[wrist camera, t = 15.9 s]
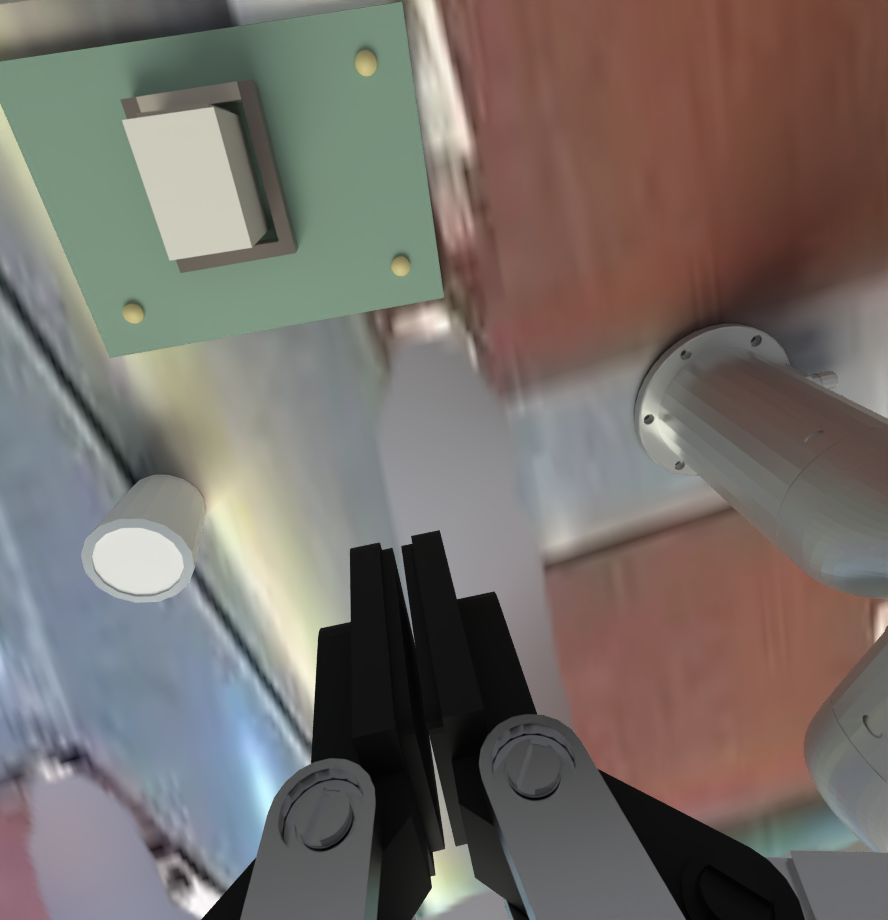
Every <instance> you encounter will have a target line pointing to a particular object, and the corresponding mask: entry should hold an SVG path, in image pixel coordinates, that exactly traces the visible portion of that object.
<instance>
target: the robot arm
mask: <svg viewBox="0 0 888 920" xmlns="http://www.w3.org/2000/svg"><path fill="white" fill-rule="evenodd" d="M681 352H682V353H681ZM837 383H838V377H837V375H836V373H834V372H833V371H825V372H820V373H815V374H813V375H808V374H806V373H803V372H801V371H799V370H797V369H795V368H793V367H791V366H790V362H789V359H788V357H787V355H786V353H785V351H784V349H783V348H782V347H781V345H780V344H779V343H778V342H777V341H776V340H775V339H774V338H772V337H771V336H769V335H768V334H767V333H765V332H763V331H761V330H758V329H756V328H754V327H751V326H747V325H743V324H729V323H724V324H718V325H713V326H708V327H706V328H703V329H700V330H698V331H695V332H693V333H691V334H689V335H688V336H686V337H684V338H682V339H681V340H679V341H678V342H677V343H675V344H674V345H673V346H672V347H670V348H669V349H668V350H667V351H665V353H664V354H663V355H662V356H661V357H660V358H659V359H658V360H657V361H656V363H655V364H654V365H653V367H652V368H651V370H650V371H649V373H648V374H647V376H646V377H645V379H644V381H643V384H642V386H641V388H640V390H639V393H638V397H637V401H636V405H635V416H634V422H635V429H636V434H637V437H638V439H639V442H640V444H641V446H642V447H643V449H644V450H645V452H646V453H647V454H648V455H649V456H650V457H651V458H652V459H653V460H654V461H655V462H656V463H657V464H658V465H660V466H661V467H663V468H664V469H666V470H668V471H670V472H673V473H676V474H681V475H687V476H700V477H701V478H702V479H703V480H704V481H705V482H706V483H708V484H709V485H710V486H711V487H712V488H713V489H714V490H715V491H716V492H717V493H718V494H719V495H721V496H722V497H723V498H724V499H725V500H726V501H727V502H728V503H729V504H730V505H731V506H732V507H734V508H735V509H736V510H737V511H738V512H739V513H740V514H741V515H742V516H743V517H744V518H745V519H747V520H748V521H749V522H750V523H751V524H752V525H753V526H754V527H755V528H756V529H757V530H758V531H760V532H761V533H762V534H763V535H764V536H765V537H766V538H767V539H768V540H769V541H770V542H771V543H773V544H774V545H775V546H776V547H777V548H778V549H779V550H780V551H781V552H782V553H783V554H784V555H786V556H787V557H788V558H789V559H790V560H791V561H792V562H794V563H795V564H796V565H797V566H798V567H799V568H800V569H801V570H802V571H804V572H805V573H806V574H807V575H809V576H810V577H811V578H813V579H814V580H816V581H818V582H820V583H821V584H823V585H825V586H827V587H830V588H832V589H835V590H837V591H840V592H843V593H847V594H852V595H856V596H861V597H868V598H879V599H888V419H887V418H885V417H883V416H881V415H879V414H877V413H875V412H873V411H871V410H869V409H867V408H865V407H863V406H861V405H859V404H857V403H855V402H853V401H851V400H849V399H847V398H845V397H844V396H843V395H839V394H837V393H835V392H833V391H831V390H829V389H833V388H835V387H836V386H837ZM411 538H412V544H409V545H404V546H401V547H402V555H403V562H404V569H405V576H406V583H407V590H408V597H409V604H410V611H411V619H412V626H413V633H414V639H413V635H412V630H411V626H410V621H409V617H408V613H407V608H406V604H405V600H404V595H403V591H402V587H401V582H400V578H399V573H398V569H397V565H396V560H395V556H394V552H393V549H392V548H390V549H385V550H382V548H381V545H380V543H375V544H370V545H365V546H360V547H355V548H351V549H350V591H351V622H349V623H344V624H339V625H334V626H330V627H325V628H321V629H320V631H319V635H318V649H317V667H316V685H315V703H314V721H313V739H312V757H311V764H310V765H308V766H306V767H304V768H302V769H300V770H299V771H298V772H296V773H295V774H294V775H293V776H292V777H291V778H290V779H288V780H287V781H286V782H285V783H284V785H283V786H282V787H281V789H280V790H279V792H278V793H277V794H276V796H275V797H274V800H273V802H272V805H271V807H270V809H269V812H268V815H267V819H266V822H265V826H264V830H263V834H262V838H261V842H260V845H259V849H258V853H257V857H256V858H255V859H254V860H253V862H252V863H251V864H250V865H249V866H248V867H247V868H246V870H245V871H244V872H243V873H242V874H241V875H240V876H239V877H238V879H237V880H236V881H235V882H234V883H233V884H232V885H231V887H230V888H229V889H228V890H227V891H226V892H225V893H224V894H223V896H222V897H221V898H220V899H219V900H218V901H217V902H216V904H215V905H214V906H213V907H212V908H211V909H210V910H209V911H208V913H207V914H206V915H205V916H204V917H203V918H202V919H201V920H416V918H415V913H416V912H417V910H418V909H419V907H420V906H421V904H422V903H423V901H424V899H425V898H426V896H427V895H428V893H429V892H430V890H431V888H432V885H431V876H435V868H434V860H433V852H435V851H439V850H443V849H445V843H444V836H443V829H442V822H441V815H440V808H439V801H438V794H437V787H436V780H435V773H434V766H433V759H432V752H431V745H430V740H431V744H432V748H433V752H434V757H435V761H436V765H437V769H438V773H439V778H440V782H441V786H442V790H443V795H444V799H445V803H446V807H447V811H448V816H449V820H450V824H451V828H452V833H453V837H454V841H455V845H456V846H460V845H464V844H468V848H469V852H470V857H471V861H472V866H473V871H474V875H475V878H476V879H478V880H479V881H481V882H482V883H483V884H485V885H486V886H488V887H489V888H490V889H492V890H493V891H495V892H496V893H497V894H499V895H500V896H502V897H503V899H504V904H505V908H506V910H507V913H508V916H509V919H510V920H888V626H887V627H886V629H885V632H884V633H883V634H882V635H881V637H880V638H879V639H878V640H877V641H876V642H875V643H874V645H873V646H872V647H871V648H870V649H869V650H868V652H867V653H866V654H865V655H864V656H863V657H862V658H861V660H860V661H859V662H858V663H857V664H856V665H855V667H854V668H853V669H852V670H851V671H850V672H849V673H848V675H847V676H846V677H845V678H844V679H843V680H842V681H841V683H840V684H839V685H838V686H837V687H836V688H835V690H834V691H833V693H832V694H831V695H830V696H829V697H828V698H827V700H826V701H825V702H824V703H823V705H822V706H821V707H820V709H819V710H818V711H817V713H816V714H815V715H814V717H813V719H812V720H811V722H810V724H809V726H808V729H807V731H806V735H805V740H804V758H805V762H806V765H807V768H808V771H809V774H810V776H811V779H812V780H813V782H814V784H815V786H816V788H817V789H818V791H819V793H820V794H821V796H822V797H823V799H824V800H825V801H826V803H827V804H828V805H829V807H830V808H831V809H832V811H833V812H834V813H835V814H836V815H837V817H838V818H839V819H840V820H841V821H842V822H843V823H844V825H845V826H846V827H847V828H848V829H849V830H850V831H851V832H852V833H853V834H854V835H855V836H856V837H857V838H858V839H859V840H860V841H861V842H862V843H863V844H864V845H865V846H866V847H867V848H868V849H870V850H871V851H872V852H832V851H789V855H788V858H765V857H763V856H762V855H760V854H759V853H757V852H756V851H754V850H753V849H751V848H750V847H748V846H746V845H744V844H742V843H740V842H738V841H736V840H734V839H732V838H730V837H729V836H727V835H725V834H723V833H721V832H719V831H717V830H715V829H713V828H711V827H709V826H707V825H705V824H703V823H701V822H699V821H698V820H696V819H694V818H692V817H690V816H688V815H686V814H684V813H682V812H680V811H678V810H676V809H674V808H672V807H670V806H668V805H667V804H665V803H663V802H661V801H659V800H657V799H655V798H653V797H651V796H649V795H647V794H645V793H643V792H641V791H639V790H637V789H636V788H634V787H632V786H630V785H628V784H626V783H624V782H622V781H620V780H618V779H616V778H614V777H612V776H610V775H608V774H606V773H605V772H603V771H601V770H599V769H597V767H596V766H595V764H594V762H593V761H592V759H591V757H590V756H589V754H588V752H587V750H586V749H585V747H584V745H583V744H582V742H581V741H580V739H579V738H578V737H577V736H576V734H575V733H574V732H573V731H572V729H570V728H569V727H567V726H566V725H565V724H563V723H561V722H560V721H559V720H557V719H553V718H551V717H548V716H544V715H537V712H536V709H535V706H534V704H533V701H532V698H531V695H530V692H529V689H528V686H527V683H526V680H525V677H524V674H523V671H522V668H521V665H520V662H519V659H518V657H517V653H516V650H515V648H514V645H513V642H512V639H511V636H510V633H509V630H508V627H507V624H506V621H505V618H504V615H503V612H502V609H501V607H500V603H499V600H498V598H497V595H496V593H495V592H490V593H485V594H481V595H476V596H471V597H466V598H462V599H457V598H456V594H455V590H454V586H453V582H452V578H451V574H450V571H449V566H448V562H447V558H446V554H445V550H444V546H443V542H442V538H441V534H440V531H439V530H438V531H434V532H429V533H424V534H419V535H415V536H411ZM414 640H415V643H414ZM415 647H416V648H415ZM429 735H430V738H429Z"/></svg>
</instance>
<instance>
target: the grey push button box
mask: <svg viewBox="0 0 888 920" xmlns="http://www.w3.org/2000/svg"><path fill="white" fill-rule="evenodd" d="M18 1H25V0H0V4H4V3H11V2H18Z"/></svg>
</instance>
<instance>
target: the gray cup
mask: <svg viewBox="0 0 888 920" xmlns="http://www.w3.org/2000/svg"><path fill="white" fill-rule="evenodd" d="M205 514H206V510H205V502H204V499H203V497H202V496H201V494H200V493H199V491H198V489H197V488H196V487H194V486H193V485H191V484H190V483H189V482H187V481H186V480H185V479H181V478H178V477H175V476H172V475H151V476H149V477H146V478H143V479H140V480H139V481H138V482H137V483H136V484H135V485H134V486H133V487H132V488H131V489H130V490H129V491H128V492H127V493H126V494H125V495H124V496H123V498H122V499H121V500H120V501H119V502H118V503H117V504H116V505H115V507H114V508H113V509H112V510H111V511H110V512H109V513H108V514H107V516H106V517H105V518H104V519H103V520H102V521H101V522H100V523H99V525H98V526H97V527H96V528H95V529H94V530H93V531H92V533H91V534H90V535H89V536H88V537H87V538H86V540H85V543H84V547H83V550H82V553H81V557H82V561H83V565H84V569H85V572H86V574H87V575H88V576H89V577H90V578H91V580H92V581H93V582H94V583H95V585H96V586H97V587H99V588H100V589H102V590H104V591H105V592H107V593H109V594H110V595H112V596H114V597H116V598H120V599H124V600H128V601H132V602H136V603H139V602H158V601H161V600H164V599H166V598H169V597H172V596H175V595H176V594H177V593H179V592H180V591H181V590H182V589H183V588H184V587H185V586H186V585H188V584H189V581H190V579H191V576H192V574H193V571H194V568H195V563H196V558H197V553H198V548H199V544H200V539H201V534H202V529H203V524H204V519H205Z"/></svg>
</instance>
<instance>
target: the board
mask: <svg viewBox="0 0 888 920" xmlns="http://www.w3.org/2000/svg"><path fill="white" fill-rule="evenodd" d="M249 79H253V80H254V81H255V82H257V85H258V89H259V93H260V97H261V101H262V105H263V109H264V113H265V117H266V121H267V125H268V129H269V133H270V137H271V141H272V145H273V149H274V153H275V157H276V161H277V165H278V169H279V173H280V177H281V181H282V185H283V189H284V193H285V197H286V201H287V205H288V209H289V213H290V217H291V221H292V225H293V229H294V233H295V237H296V241H297V245H298V250H297V252H296V253H295V254H289V255H283V256H277V257H271V258H266V259H260V260H254V261H248V262H243V263H237V264H231V265H225V266H219V267H214V268H208V269H202V270H196V271H190V272H185V273H180V270H179V268H178V265H177V262H176V260H171V261H170V260H169V257H168V254H167V251H166V249H165V246H164V243H163V240H162V237H161V234H160V231H159V228H158V225H157V222H156V219H155V216H154V213H153V210H152V207H151V204H150V202H149V199H148V196H147V193H146V190H145V187H144V184H143V181H142V178H141V175H140V172H139V169H138V166H137V163H136V160H135V157H134V154H133V152H132V149H131V146H130V143H129V140H128V137H127V134H126V131H125V128H124V125H123V122H122V120H126V119H127V118H126V115H125V112H124V109H123V106H122V103H121V100H120V99H126V98H132V97H139V96H145V95H152V94H158V93H165V92H171V91H178V90H184V89H191V88H197V87H204V86H210V85H217V84H223V83H230V82H236V81H243V80H249ZM0 103H1V106H2V108H3V110H4V113H5V115H6V117H7V120H8V122H9V124H10V127H11V129H12V131H13V134H14V136H15V138H16V141H17V143H18V145H19V147H20V150H21V152H22V154H23V157H24V159H25V161H26V164H27V166H28V168H29V171H30V173H31V175H32V178H33V180H34V182H35V185H36V187H37V189H38V192H39V194H40V196H41V198H42V201H43V203H44V205H45V208H46V210H47V212H48V215H49V217H50V219H51V222H52V224H53V226H54V229H55V231H56V233H57V236H58V238H59V240H60V243H61V245H62V247H63V249H64V252H65V254H66V256H67V259H68V261H69V263H70V266H71V268H72V270H73V273H74V275H75V277H76V280H77V282H78V284H79V287H80V289H81V291H82V294H83V296H84V298H85V300H86V303H87V305H88V307H89V310H90V312H91V314H92V317H93V319H94V321H95V324H96V326H97V328H98V331H99V333H100V335H101V338H102V340H103V342H104V344H105V347H106V349H107V351H108V354H109V356H110V358H112V357H118V356H123V355H129V354H135V353H140V352H146V351H151V350H157V349H162V348H168V347H173V346H179V345H184V344H190V343H196V342H201V341H207V340H212V339H218V338H223V337H229V336H234V335H240V334H245V333H251V332H256V331H262V330H268V329H273V328H279V327H284V326H290V325H295V324H301V323H306V322H312V321H317V320H323V319H329V318H334V317H340V316H345V315H351V314H356V313H362V312H367V311H373V310H378V309H384V308H390V307H395V306H401V305H406V304H412V303H417V302H423V301H428V300H434V299H439V298H444V294H443V287H442V280H441V273H440V266H439V259H438V252H437V245H436V237H435V230H434V223H433V216H432V209H431V202H430V195H429V188H428V181H427V174H426V167H425V160H424V153H423V146H422V139H421V132H420V125H419V117H418V110H417V103H416V96H415V89H414V82H413V75H412V68H411V61H410V54H409V47H408V40H407V33H406V26H405V19H404V12H403V5H402V2H398V3H391V4H384V5H377V6H371V7H364V8H357V9H350V10H344V11H337V12H330V13H323V14H317V15H310V16H303V17H297V18H290V19H283V20H276V21H270V22H263V23H256V24H249V25H243V26H236V27H229V28H222V29H216V30H209V31H202V32H195V33H189V34H182V35H175V36H169V37H162V38H155V39H148V40H142V41H135V42H128V43H121V44H115V45H108V46H101V47H94V48H88V49H81V50H74V51H68V52H61V53H54V54H47V55H41V56H34V57H27V58H20V59H14V60H7V61H0ZM217 107H220V108H223V109H226V110H229V111H230V112H231V113H234V114H237V115H240V116H241V117H242V121H243V125H244V129H245V133H246V137H247V140H248V144H249V148H250V152H251V156H252V160H253V164H254V168H255V172H256V176H257V180H258V183H259V187H260V191H261V195H262V199H263V203H264V207H265V211H266V215H267V219H268V223H269V227H270V229H269V230H268V231H267V232H266V233H265V234H264V235H263V237H262V238H261V239H260V240H259V241H262V240H268V239H274V238H278V237H277V233H276V229H275V225H274V221H273V218H272V214H271V210H270V206H269V202H268V199H267V195H266V191H265V187H264V183H263V180H262V176H261V172H260V168H259V164H258V161H257V157H256V153H255V149H254V145H253V142H252V138H251V134H250V130H249V126H248V123H247V119H246V115H245V111H244V107H243V103H236V104H230V105H224V106H217Z"/></svg>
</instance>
